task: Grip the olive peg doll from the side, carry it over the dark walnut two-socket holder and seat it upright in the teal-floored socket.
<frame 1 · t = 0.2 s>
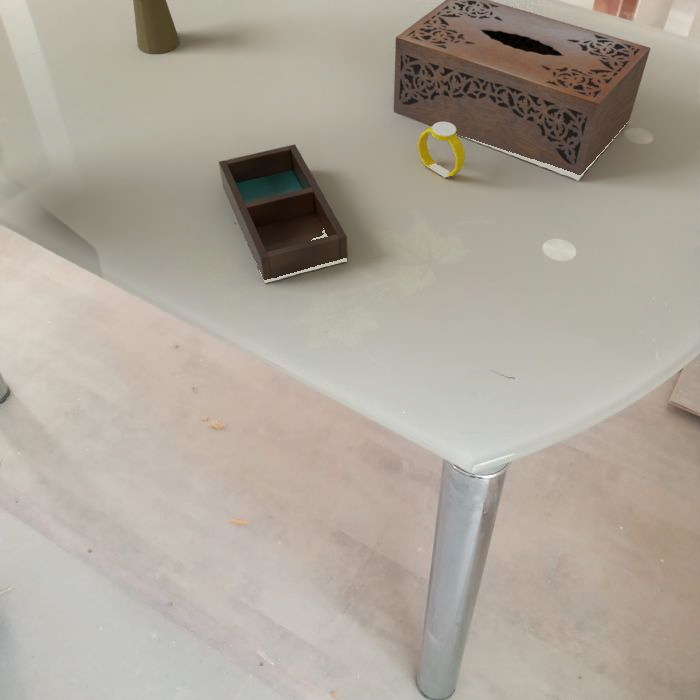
olive peg doll: (158, 44, 112), on the table
watch: (439, 173, 91), on the table
tissue box cover: (509, 118, 98), on the table
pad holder: (282, 222, 86), on the table
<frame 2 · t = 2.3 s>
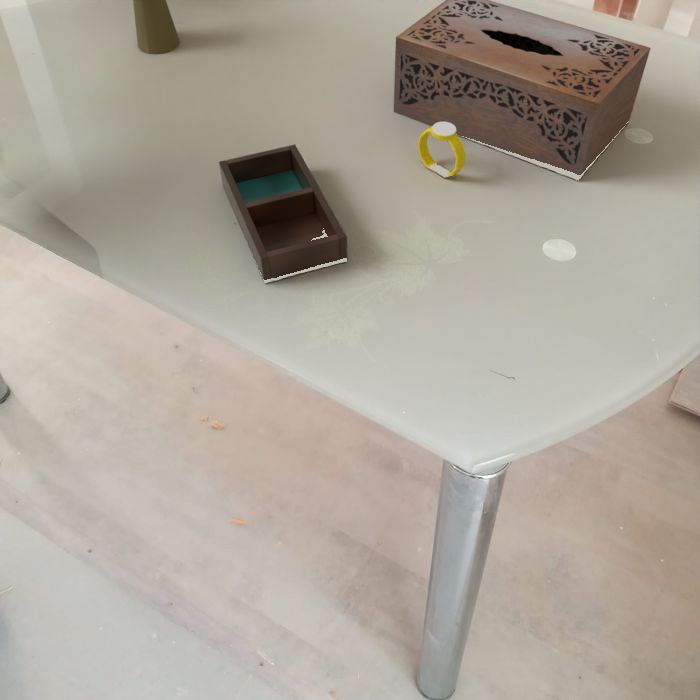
nothing on the table moved.
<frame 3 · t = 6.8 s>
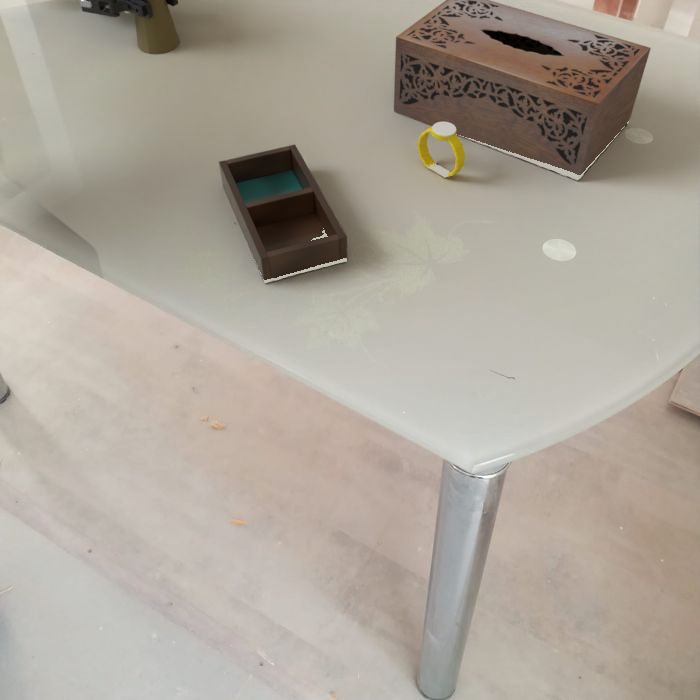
hand: (162, 4, 106), 6 cm above the table, tool horizontal, fingers closed on olive peg doll, 4 cm apart
olive peg doll: (159, 44, 112), on the table, touching gripper
everything else where it was.
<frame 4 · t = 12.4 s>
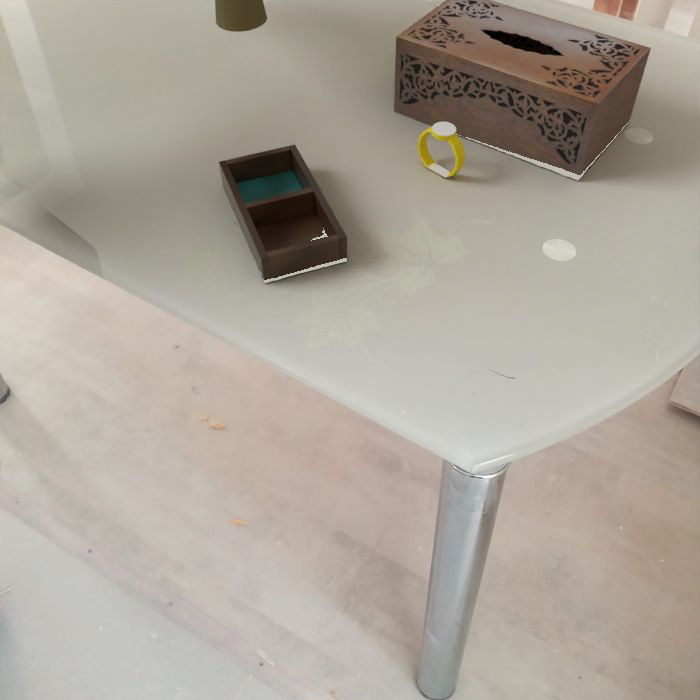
olive peg doll: (241, 20, 91), point 12 cm above the table, touching gripper
everything else where it was.
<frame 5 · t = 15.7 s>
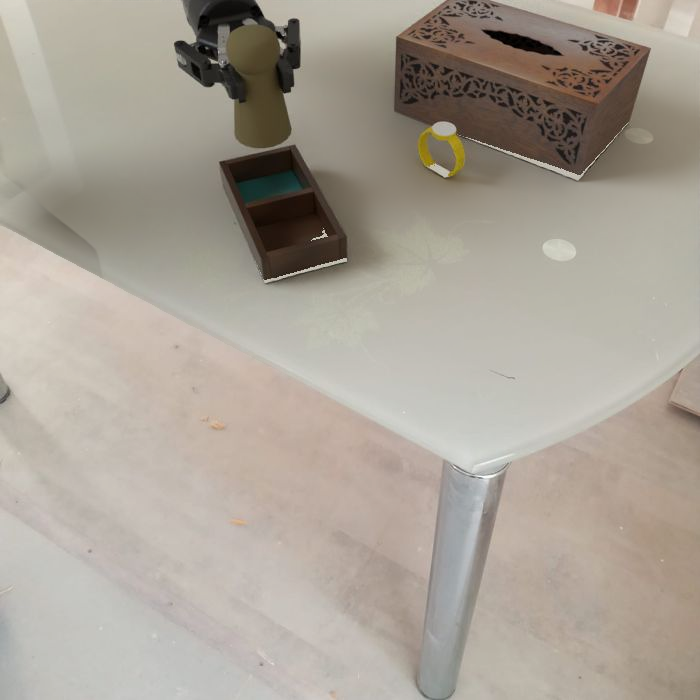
hand: (264, 89, 75), 15 cm above the table, tool horizontal, fingers closed on olive peg doll, 4 cm apart
olive peg doll: (263, 133, 82), point 9 cm above the table, touching gripper
everything else where it was.
when the fingers open (7 cm above the table, at t = 18.3 s): olive peg doll stays where it is, resting on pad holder.
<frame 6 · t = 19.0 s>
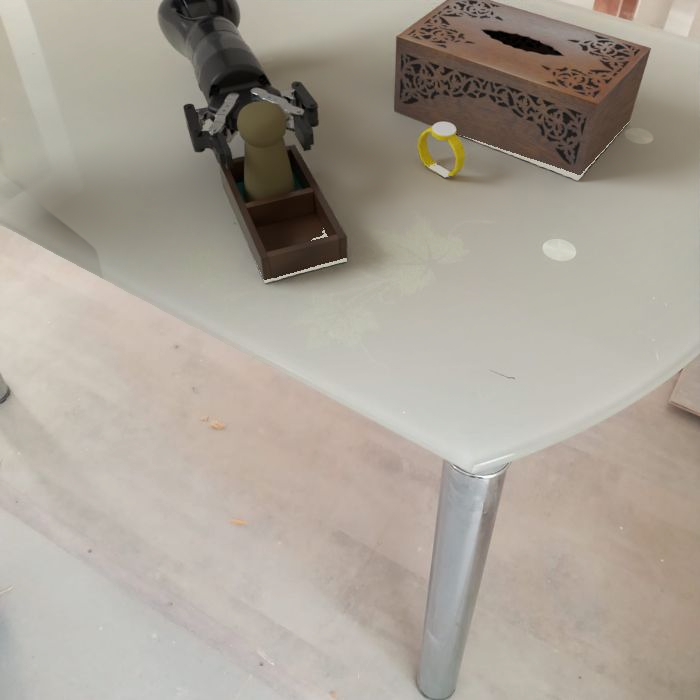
hand: (269, 152, 81), 8 cm above the table, tool horizontal, fingers open, 8 cm apart
olive peg doll: (270, 196, 88), point 1 cm above the table, touching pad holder
everything else where it was.
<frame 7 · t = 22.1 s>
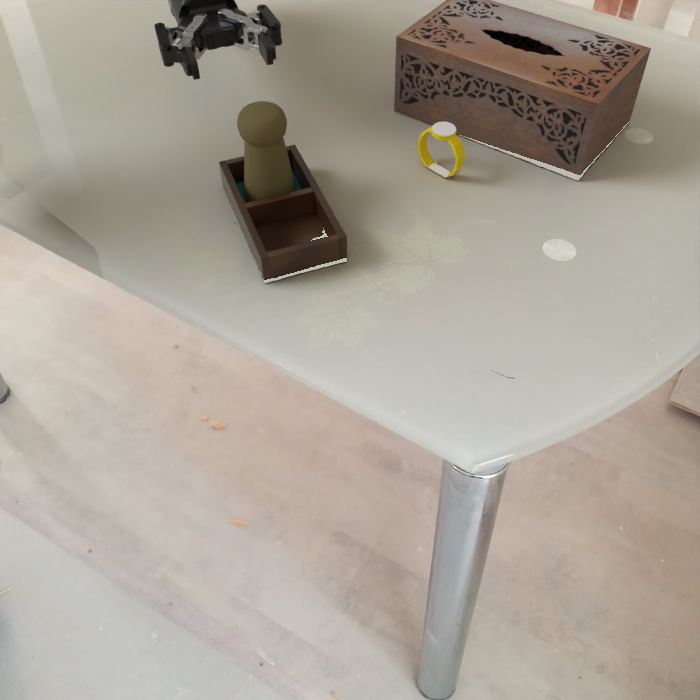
hand: (233, 64, 87), 11 cm above the table, tool horizontal, fingers open, 8 cm apart
nothing on the table moved.
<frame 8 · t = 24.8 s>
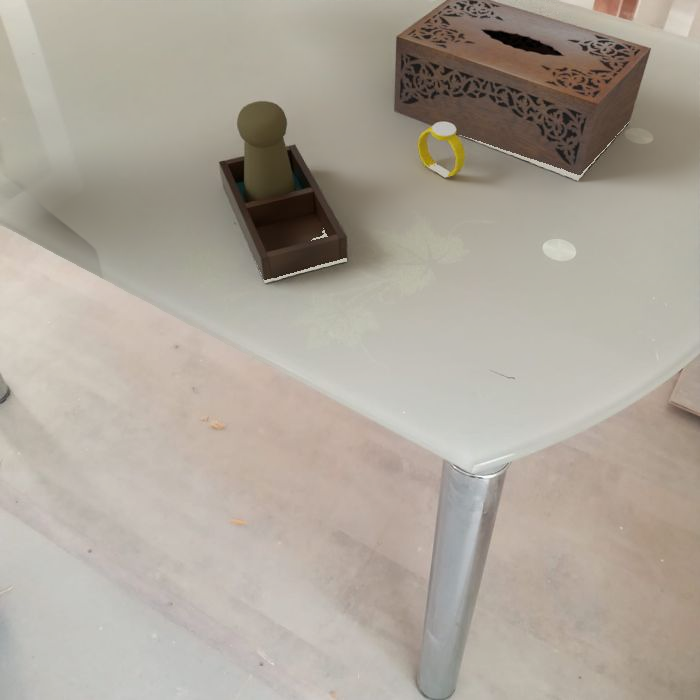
nothing on the table moved.
at the end: olive peg doll 0.1 cm from the target spot in the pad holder, point 0.5 cm above the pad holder's base; olive peg doll tilted 0°; the gripper is holding nothing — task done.
